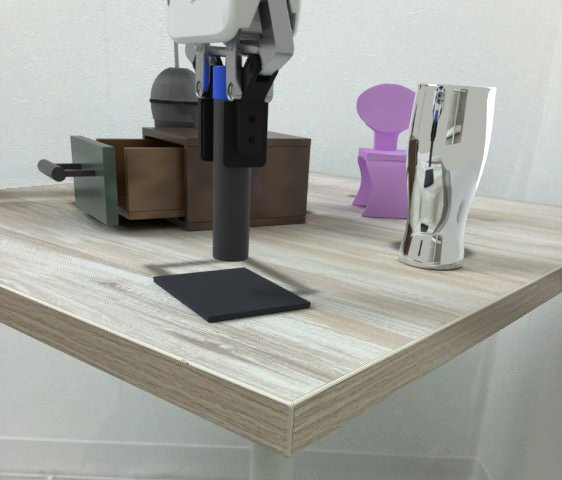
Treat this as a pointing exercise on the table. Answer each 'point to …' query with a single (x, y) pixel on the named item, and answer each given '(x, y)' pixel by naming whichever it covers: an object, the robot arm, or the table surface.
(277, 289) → the mat
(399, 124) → the toy chair
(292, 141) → the cabinet
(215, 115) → the marker
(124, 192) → the drawer
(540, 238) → the table surface
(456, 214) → the beer glass
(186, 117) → the beverage cup
